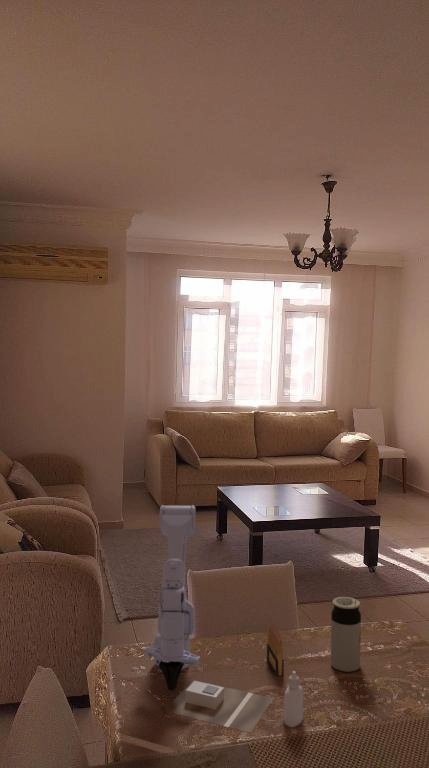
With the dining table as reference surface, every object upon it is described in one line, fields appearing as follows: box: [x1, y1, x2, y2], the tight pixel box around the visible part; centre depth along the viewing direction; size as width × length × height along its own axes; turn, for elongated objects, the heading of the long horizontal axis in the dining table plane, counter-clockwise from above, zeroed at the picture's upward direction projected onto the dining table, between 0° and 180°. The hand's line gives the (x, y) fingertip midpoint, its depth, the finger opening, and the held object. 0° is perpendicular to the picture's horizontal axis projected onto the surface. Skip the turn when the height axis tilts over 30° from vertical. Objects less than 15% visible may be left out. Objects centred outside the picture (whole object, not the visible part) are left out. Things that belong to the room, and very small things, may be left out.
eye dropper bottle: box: [283, 670, 304, 728], centre depth 155 cm, size 4×6×12 cm
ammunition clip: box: [266, 619, 285, 676], centre depth 180 cm, size 11×2×12 cm, turn 10°
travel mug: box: [330, 596, 362, 673], centre depth 182 cm, size 8×8×18 cm
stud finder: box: [186, 680, 225, 710], centre depth 162 cm, size 8×5×3 cm, turn 66°
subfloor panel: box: [164, 679, 274, 734], centre depth 161 cm, size 22×16×1 cm
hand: (172, 688), depth 166 cm, fingers closed
